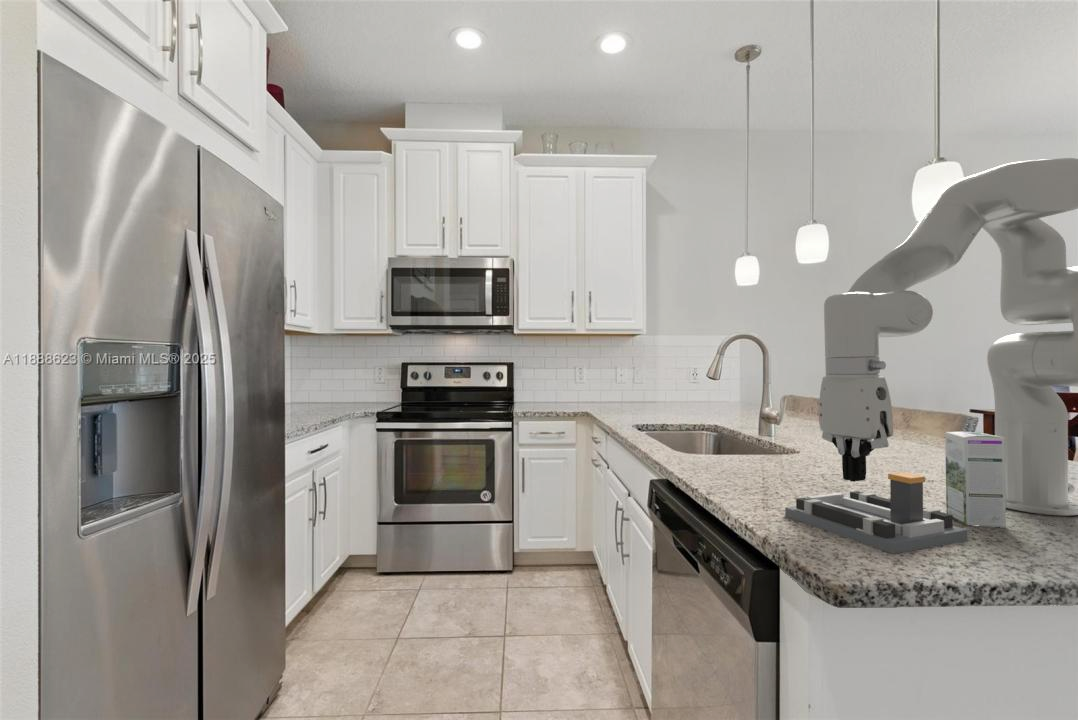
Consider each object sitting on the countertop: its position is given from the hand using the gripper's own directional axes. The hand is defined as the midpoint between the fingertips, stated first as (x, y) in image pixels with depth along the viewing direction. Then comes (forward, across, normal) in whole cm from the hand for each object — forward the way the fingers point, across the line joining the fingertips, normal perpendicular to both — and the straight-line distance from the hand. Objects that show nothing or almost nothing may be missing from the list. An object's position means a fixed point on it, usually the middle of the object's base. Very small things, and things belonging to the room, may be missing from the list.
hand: (854, 479), depth 83 cm
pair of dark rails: (+5, -3, +1) cm, 6 cm away
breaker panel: (+7, -3, +1) cm, 8 cm away
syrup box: (+8, -7, -18) cm, 21 cm away
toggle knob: (+5, -9, +1) cm, 10 cm away
